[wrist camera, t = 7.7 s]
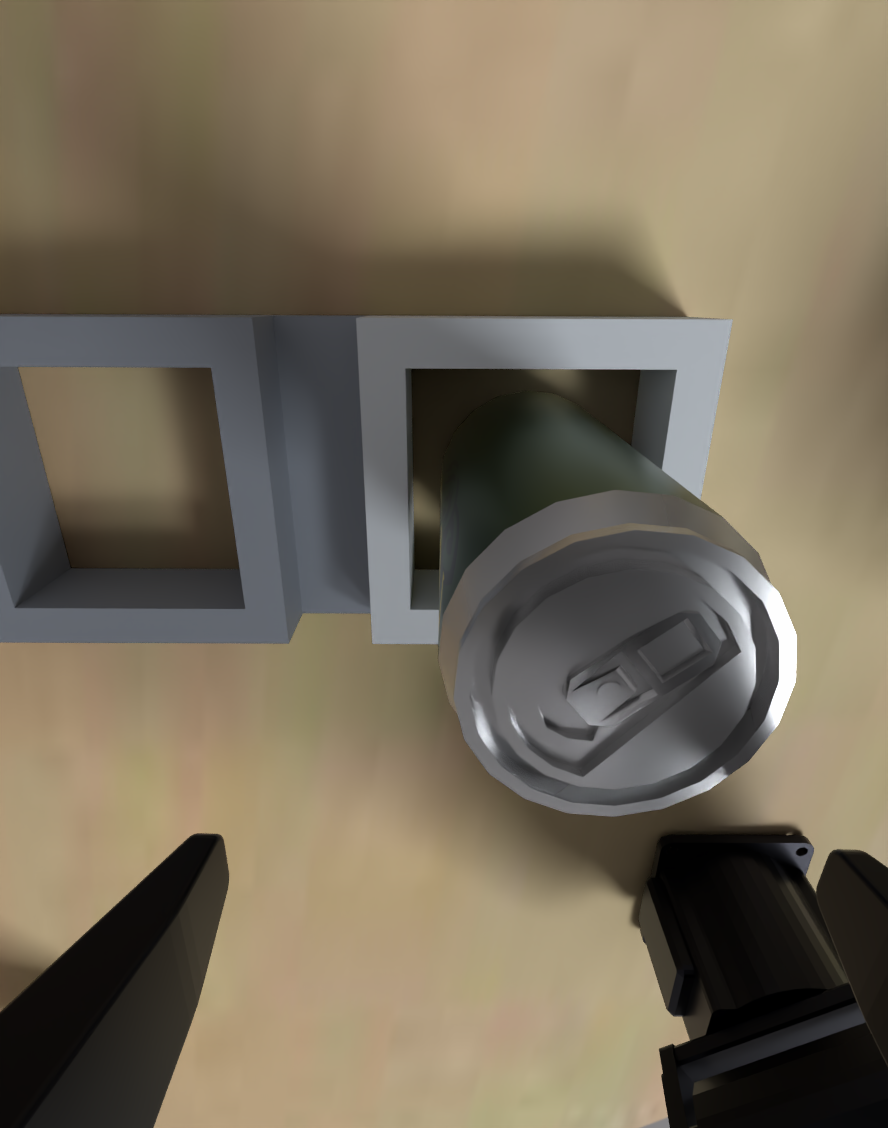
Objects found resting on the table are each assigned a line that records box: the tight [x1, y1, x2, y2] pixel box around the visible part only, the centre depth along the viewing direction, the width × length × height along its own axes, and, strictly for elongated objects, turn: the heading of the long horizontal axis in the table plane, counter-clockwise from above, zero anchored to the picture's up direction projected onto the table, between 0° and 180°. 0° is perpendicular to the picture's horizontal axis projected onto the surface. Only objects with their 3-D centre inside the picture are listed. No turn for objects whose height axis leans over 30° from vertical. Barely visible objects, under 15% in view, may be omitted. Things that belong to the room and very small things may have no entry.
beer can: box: [438, 391, 796, 817], centre depth 14 cm, size 5×5×12 cm
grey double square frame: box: [0, 314, 733, 644], centre depth 18 cm, size 21×9×3 cm, turn 90°
